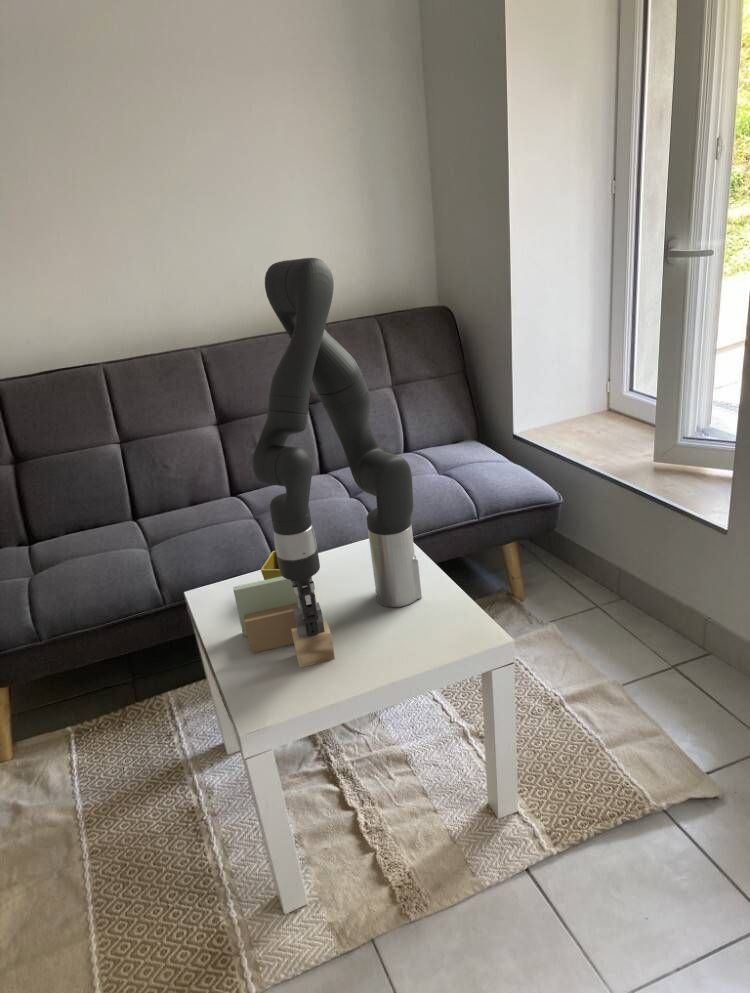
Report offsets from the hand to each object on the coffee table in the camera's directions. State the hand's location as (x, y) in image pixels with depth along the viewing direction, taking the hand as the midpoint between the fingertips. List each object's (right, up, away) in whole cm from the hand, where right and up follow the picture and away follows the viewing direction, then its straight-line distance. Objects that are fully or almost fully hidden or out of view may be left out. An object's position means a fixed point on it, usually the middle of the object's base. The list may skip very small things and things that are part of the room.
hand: (309, 625), depth 151 cm
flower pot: (-6, +2, +26) cm, 27 cm away
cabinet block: (+1, -7, +3) cm, 7 cm away
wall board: (-7, -4, +11) cm, 14 cm away
